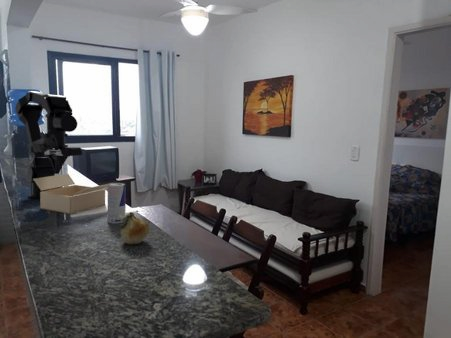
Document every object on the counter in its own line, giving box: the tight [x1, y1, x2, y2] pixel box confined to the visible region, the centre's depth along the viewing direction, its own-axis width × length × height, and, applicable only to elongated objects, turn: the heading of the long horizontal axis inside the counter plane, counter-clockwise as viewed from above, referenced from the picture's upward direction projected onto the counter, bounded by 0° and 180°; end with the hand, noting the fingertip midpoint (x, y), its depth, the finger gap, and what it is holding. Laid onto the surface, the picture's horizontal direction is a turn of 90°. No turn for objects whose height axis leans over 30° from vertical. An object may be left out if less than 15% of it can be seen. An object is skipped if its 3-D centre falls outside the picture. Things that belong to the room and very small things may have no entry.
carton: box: [39, 184, 106, 215], centre depth 119 cm, size 14×17×6 cm
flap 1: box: [33, 173, 76, 191], centre depth 122 cm, size 5×15×1 cm
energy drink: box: [107, 182, 127, 225], centre depth 104 cm, size 5×5×12 cm
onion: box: [118, 211, 151, 245], centre depth 87 cm, size 8×8×8 cm
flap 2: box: [73, 182, 111, 196], centre depth 116 cm, size 5×15×1 cm, turn 160°
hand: (56, 173), depth 121 cm, fingers closed
